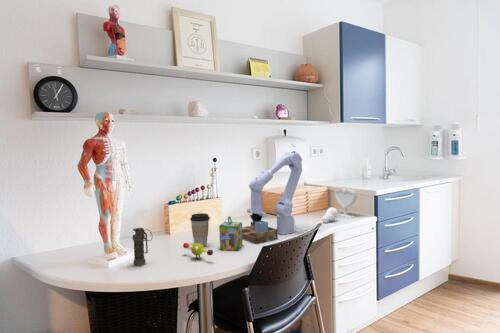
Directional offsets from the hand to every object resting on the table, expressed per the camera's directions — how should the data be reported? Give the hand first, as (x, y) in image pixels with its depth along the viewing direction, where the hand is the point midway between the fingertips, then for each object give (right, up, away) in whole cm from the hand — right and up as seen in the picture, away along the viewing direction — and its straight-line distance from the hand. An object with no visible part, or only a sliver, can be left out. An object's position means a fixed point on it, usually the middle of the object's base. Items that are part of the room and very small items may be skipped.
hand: (256, 228), depth 182 cm
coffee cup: (-27, -6, -16) cm, 32 cm away
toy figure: (-26, -7, -35) cm, 44 cm away
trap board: (-2, -4, -3) cm, 5 cm away
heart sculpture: (+60, 0, +46) cm, 75 cm away
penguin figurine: (+45, -2, +28) cm, 53 cm away
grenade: (-48, -8, -41) cm, 63 cm away
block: (+2, -1, -3) cm, 4 cm away
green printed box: (-12, -6, -20) cm, 24 cm away
